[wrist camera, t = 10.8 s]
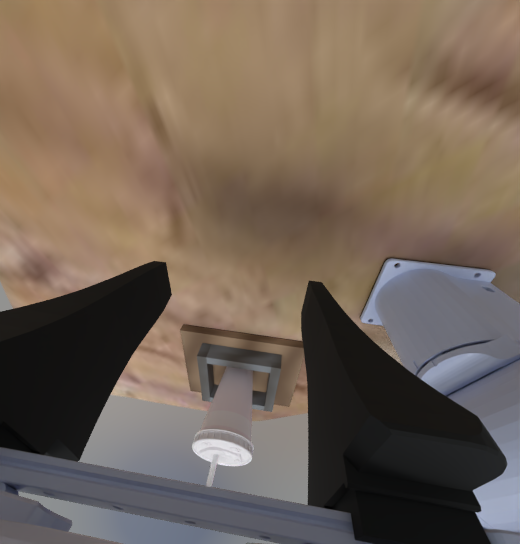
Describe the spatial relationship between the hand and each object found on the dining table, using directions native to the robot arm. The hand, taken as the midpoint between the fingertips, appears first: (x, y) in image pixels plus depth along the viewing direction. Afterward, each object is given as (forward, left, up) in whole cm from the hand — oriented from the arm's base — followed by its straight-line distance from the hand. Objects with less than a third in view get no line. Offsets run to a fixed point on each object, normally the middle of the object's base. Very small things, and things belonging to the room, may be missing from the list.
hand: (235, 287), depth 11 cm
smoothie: (+1, +21, -10) cm, 23 cm away
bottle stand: (+1, +22, -10) cm, 24 cm away
